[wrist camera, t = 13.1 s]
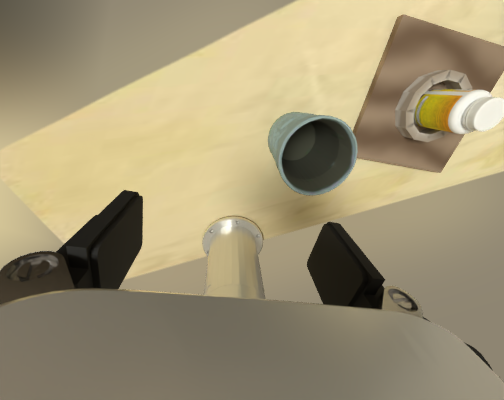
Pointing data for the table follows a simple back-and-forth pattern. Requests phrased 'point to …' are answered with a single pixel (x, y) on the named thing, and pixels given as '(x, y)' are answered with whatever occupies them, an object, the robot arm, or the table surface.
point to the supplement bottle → (458, 110)
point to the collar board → (402, 71)
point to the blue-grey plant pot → (312, 151)
